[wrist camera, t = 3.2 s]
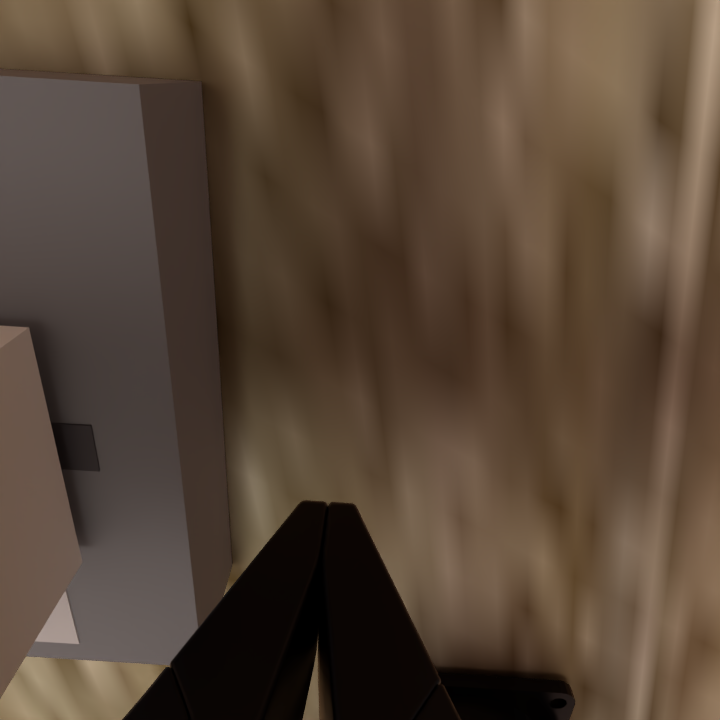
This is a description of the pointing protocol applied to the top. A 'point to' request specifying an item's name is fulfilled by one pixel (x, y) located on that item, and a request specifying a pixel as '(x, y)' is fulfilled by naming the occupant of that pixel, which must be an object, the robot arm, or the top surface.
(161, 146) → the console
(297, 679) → the robot arm
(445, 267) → the top surface
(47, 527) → the fader
